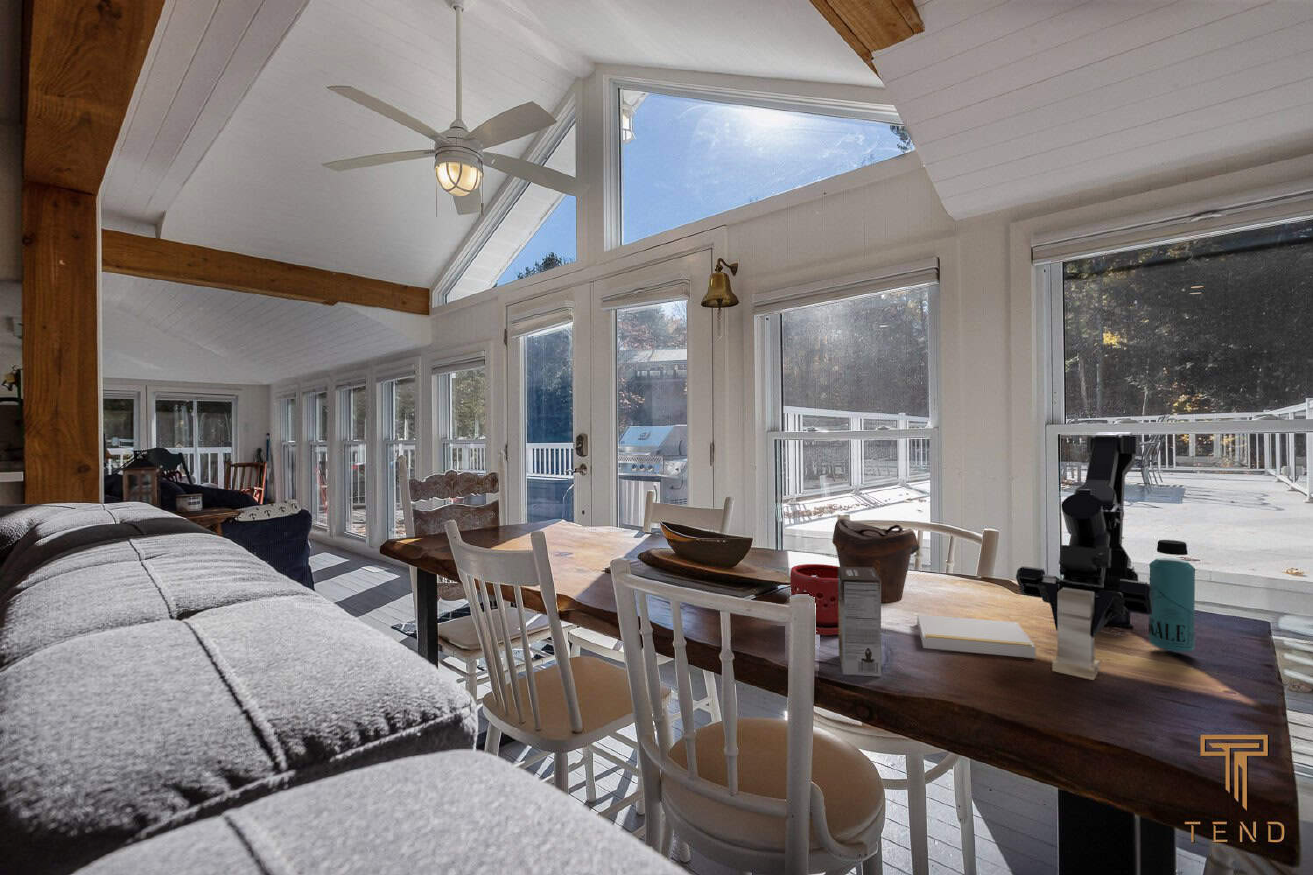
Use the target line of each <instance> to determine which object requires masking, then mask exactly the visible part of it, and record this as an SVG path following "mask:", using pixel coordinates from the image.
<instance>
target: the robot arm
mask: <svg viewBox="0 0 1313 875" xmlns="http://www.w3.org/2000/svg"><path fill="white" fill-rule="evenodd" d="M1140 445H1141V443H1140V438H1139V437H1138V436H1133V433H1132V432H1130V431H1126V432H1125V431H1124V432H1121V431H1120V432H1112V431H1111V432H1110V431H1109V432H1105V431H1104V432H1102V431H1101V432H1098V431H1097V432H1096V433H1095V434H1094V435H1093V434H1092V435H1090V436H1089V435H1088V436H1086V454H1088V455H1090V457H1089V458H1090V459H1089V462H1088V466H1087V471H1086V476H1085V481H1084V484H1082V485H1080V486H1078V487H1077V488H1076V489H1075V490H1074V493H1073V494H1071V495H1069V496H1067V497H1066V498H1065V499H1064V500H1063V501H1062V502H1061V506H1060V507H1061V512H1062V516H1063V518H1064V523H1065V527H1066V530H1067V533H1068V534H1069V535H1070V536H1069V542H1068V545H1067V544H1062V545H1060V548H1059V557H1058V558H1059V560H1058V564H1059V565H1060V567H1059V573H1060V575H1062V578H1059V577H1057V576H1055V575H1050V574H1046V572H1045V568H1038V567H1032V566H1031V567H1030V566H1025V565H1024V566H1023V565H1022V566H1021V567H1020V568H1018V569H1017V571H1016V575H1015V579H1016V581H1017V585H1018V588H1019V591H1020V594H1022V595H1024V596H1027V597H1033V598H1040V599H1041V600H1042V601H1043V602H1044V603H1047V604H1049V606H1050V609H1051V612H1052V616H1053V622H1054V627H1055V630H1056V631H1057V632H1058V616H1057V593H1058V592H1059V591H1060V590H1061V589H1062V588H1063V587H1065V588H1072V589H1079V590H1086V591H1093V592H1095V613H1094V617H1093V620H1092V624H1091V631H1090V635H1091V637H1093V638H1094V637H1096V636H1097V635H1098V633H1099V632H1100V631H1101V630H1102V629H1103V627H1104V626H1109V627H1119V628H1120V627H1123V628H1134V627H1135V625H1134V623H1132V622H1131V613H1134V614H1140V615H1145V616H1146V615H1148V616H1150V614H1152V608H1153V598H1152V591H1151V586H1150V584H1149V583H1148V582H1147V581H1139V574H1138V573H1137V572H1136V570H1135V566H1132V561H1131V560H1132V559H1131V558H1130V557H1129V556H1130V555H1128V553H1127V551H1126V550H1125V547H1124V546H1123V528H1124V527H1123V526H1124V525H1123V524H1124V523H1123V522H1124V517H1125V510H1124V508H1125V507H1124V502H1125V485H1126V483H1125V482H1126V476H1127V474H1128V473H1129V472H1130V471H1131V469H1132V468H1133V467H1135V465H1136V456H1139V455H1140V450H1141V449H1140V448H1141V447H1140Z"/></svg>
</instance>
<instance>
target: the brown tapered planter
mask: <svg viewBox="0 0 1313 875" xmlns="http://www.w3.org/2000/svg"><path fill="white" fill-rule="evenodd" d="M894 529H898V530H894ZM831 542H832V544H833V545H834V546H835V549H836V550H835V551H836V555H837V560H838V563H839V567H874V568H875V570H876V572H877V574H878V576H879V578H880V580H881V603H893V602H898V601H900V600H902V599H903V595H904V589H905V584H906V579H907V576H908V570H909V565H910V562H911V561H910V560H911V556H912V555H913V554H915V553H917V552H918V551H919V549H920V548H921V547H920V545H919V542H918V539H917V536H916V533H915V531H914V530H913V529H912V528H908V529H904V528H903V527H902V526H901V525H899V524H895V525H892V526H890V527H889V528H887V529H886V528H885V529H884V528H881V527H877V526H873V525H868V524H864V523H861V522H857V521H854V520H850V519H846V518H839V519H838V520H836V522H835V524H834V529H833V535H832V541H831Z"/></svg>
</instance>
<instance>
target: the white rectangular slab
mask: <svg viewBox="0 0 1313 875" xmlns="http://www.w3.org/2000/svg"><path fill="white" fill-rule="evenodd" d="M916 620H917V628H918V633H919V636H920V640H921V645H922V648H923V649H931V650H932V649H933V650H942V651H954V652H964V653H974V654H975V653H976V654H987V655H995V656H996V655H997V656H1005V657H1007V656H1008V657H1018V658H1026V659H1036V645H1035V644H1034V643H1033V641H1032V640H1031V639H1030V637H1029V636H1028V635H1027V634H1026V632H1025V631H1024V630H1023V628H1022V627H1021V626H1020V624H1019V623H1018V622H1016V621H1008V620H1007V621H1006V620H1005V621H1004V620H993V619H992V620H990V619H977V618H968V617H967V618H964V617H953V616H939V615H930V614H929V615H928V614H927V615H926V614H917V616H916Z"/></svg>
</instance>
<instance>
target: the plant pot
mask: <svg viewBox="0 0 1313 875" xmlns="http://www.w3.org/2000/svg"><path fill="white" fill-rule="evenodd" d="M838 567H839V566H838V565H831V564H823V563H822V564H821V563H807V564H805V563H804V564H798V565H794V566H793V567H791V569H790V574H789V577H790V578H789V580H790V581H789V582H790V587H789V588H790V597H791V596H792V595H795V594H809V595H810V596H813V597H815V603H816V631H817V632H816V634H815V635H817V636H837V635H839V620H838Z"/></svg>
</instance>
